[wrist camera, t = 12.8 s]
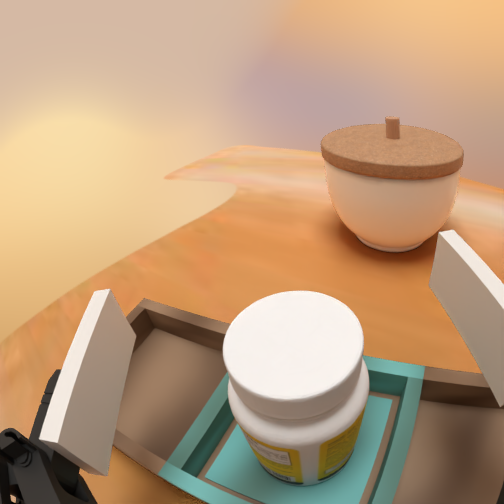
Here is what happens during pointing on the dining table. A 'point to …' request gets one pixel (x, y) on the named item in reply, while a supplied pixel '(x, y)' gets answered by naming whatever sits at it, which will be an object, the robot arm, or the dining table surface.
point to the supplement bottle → (298, 383)
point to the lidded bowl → (392, 182)
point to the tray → (366, 448)
